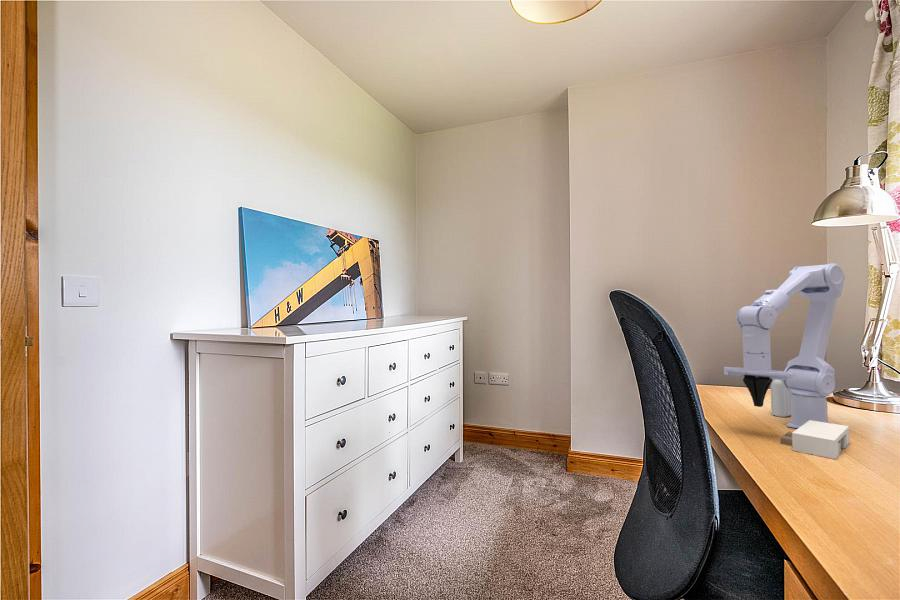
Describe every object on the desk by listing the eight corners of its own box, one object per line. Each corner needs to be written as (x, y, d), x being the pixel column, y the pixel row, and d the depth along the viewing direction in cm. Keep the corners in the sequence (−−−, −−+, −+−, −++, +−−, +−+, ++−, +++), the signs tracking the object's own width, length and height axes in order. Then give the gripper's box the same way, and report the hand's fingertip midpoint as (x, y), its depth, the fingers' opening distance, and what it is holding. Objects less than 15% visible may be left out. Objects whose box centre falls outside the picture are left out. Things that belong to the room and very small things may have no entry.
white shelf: (810, 436, 104) (809, 420, 104) (849, 443, 99) (849, 426, 99) (792, 450, 94) (791, 432, 94) (835, 459, 89) (834, 440, 89)
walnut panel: (789, 439, 104) (788, 431, 104) (837, 448, 96) (837, 440, 97) (780, 445, 99) (780, 437, 99) (830, 455, 92) (830, 446, 92)
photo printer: (782, 410, 130) (781, 370, 130) (799, 413, 126) (798, 372, 126) (769, 415, 124) (767, 373, 124) (786, 418, 120) (785, 375, 121)
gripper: (718, 352, 110) (720, 403, 109) (787, 356, 98) (789, 414, 98) (728, 349, 114) (730, 399, 114) (795, 353, 103) (798, 408, 102)
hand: (758, 405), depth 106 cm, fingers closed
